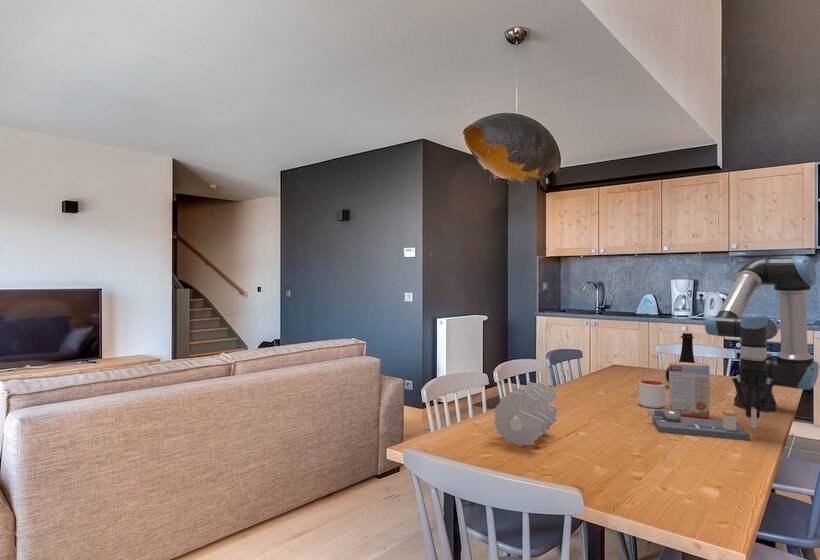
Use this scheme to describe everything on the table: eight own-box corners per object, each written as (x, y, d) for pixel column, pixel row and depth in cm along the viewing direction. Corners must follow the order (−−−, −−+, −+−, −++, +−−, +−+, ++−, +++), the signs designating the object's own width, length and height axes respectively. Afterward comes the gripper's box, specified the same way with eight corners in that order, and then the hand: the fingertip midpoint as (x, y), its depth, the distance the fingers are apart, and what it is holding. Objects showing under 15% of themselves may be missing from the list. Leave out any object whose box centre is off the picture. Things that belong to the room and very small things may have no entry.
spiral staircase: (503, 458, 162) (525, 434, 183) (552, 443, 153) (570, 420, 175) (479, 405, 165) (504, 387, 186) (527, 388, 156) (547, 371, 178)
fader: (732, 427, 176) (732, 410, 176) (736, 431, 172) (736, 413, 172) (722, 426, 177) (722, 409, 177) (725, 430, 173) (725, 412, 173)
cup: (662, 410, 208) (662, 386, 208) (636, 406, 214) (636, 383, 214) (666, 405, 216) (667, 382, 216) (641, 401, 222) (642, 379, 222)
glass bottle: (660, 384, 258) (660, 330, 258) (697, 386, 256) (697, 331, 256) (673, 392, 240) (674, 334, 240) (713, 394, 238) (714, 335, 238)
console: (735, 427, 184) (735, 421, 184) (750, 440, 169) (750, 434, 169) (652, 420, 193) (652, 414, 193) (658, 431, 178) (658, 426, 178)
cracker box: (707, 415, 200) (708, 363, 200) (709, 419, 195) (710, 365, 195) (668, 411, 206) (669, 360, 206) (669, 414, 201) (669, 362, 201)
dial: (679, 417, 188) (679, 409, 188) (682, 422, 183) (682, 414, 183) (647, 415, 192) (647, 407, 192) (649, 419, 186) (649, 411, 186)
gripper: (771, 358, 174) (770, 425, 174) (728, 356, 178) (727, 422, 178) (779, 361, 167) (778, 431, 167) (734, 359, 171) (734, 427, 171)
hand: (752, 426), depth 173 cm, fingers closed
